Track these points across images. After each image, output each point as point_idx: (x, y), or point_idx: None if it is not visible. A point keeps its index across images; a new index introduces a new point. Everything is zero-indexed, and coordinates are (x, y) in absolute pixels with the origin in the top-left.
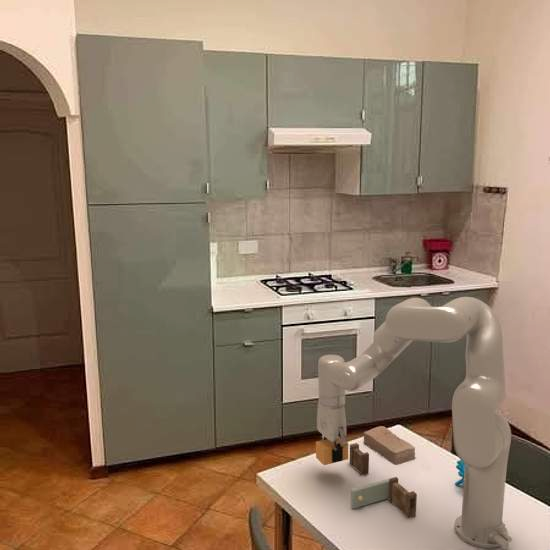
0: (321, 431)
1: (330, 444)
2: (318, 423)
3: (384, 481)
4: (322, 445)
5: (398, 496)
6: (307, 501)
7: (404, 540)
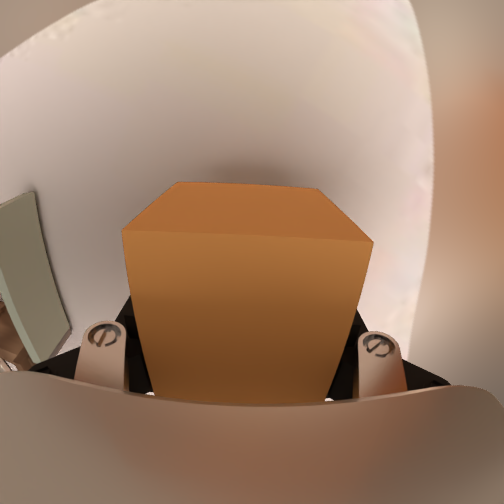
0: (355, 444)
1: (204, 353)
2: (497, 493)
3: (29, 348)
4: (227, 268)
5: (11, 332)
6: (124, 39)
7: None
